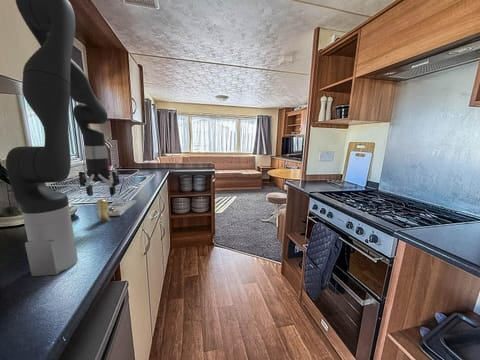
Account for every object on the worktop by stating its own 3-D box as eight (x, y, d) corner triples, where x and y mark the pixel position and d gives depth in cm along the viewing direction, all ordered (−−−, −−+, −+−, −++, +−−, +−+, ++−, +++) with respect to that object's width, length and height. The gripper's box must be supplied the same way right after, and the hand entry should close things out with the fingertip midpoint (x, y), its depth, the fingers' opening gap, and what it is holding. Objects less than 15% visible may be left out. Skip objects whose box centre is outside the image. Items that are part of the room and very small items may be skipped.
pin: (107, 221, 88) (104, 201, 86) (97, 222, 88) (95, 201, 86) (111, 218, 92) (108, 198, 90) (102, 218, 91) (99, 199, 89)
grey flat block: (120, 215, 95) (119, 209, 94) (100, 216, 94) (99, 209, 93) (136, 202, 114) (135, 196, 114) (120, 202, 113) (119, 197, 113)
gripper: (71, 158, 79) (77, 198, 83) (110, 158, 81) (115, 197, 85) (83, 155, 87) (88, 193, 90) (119, 156, 88) (123, 192, 92)
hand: (101, 195), depth 88 cm, fingers open, 8 cm apart
